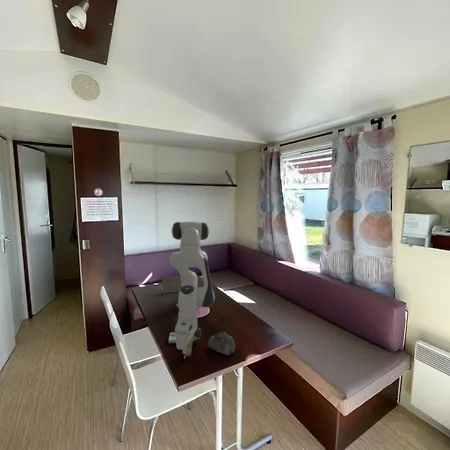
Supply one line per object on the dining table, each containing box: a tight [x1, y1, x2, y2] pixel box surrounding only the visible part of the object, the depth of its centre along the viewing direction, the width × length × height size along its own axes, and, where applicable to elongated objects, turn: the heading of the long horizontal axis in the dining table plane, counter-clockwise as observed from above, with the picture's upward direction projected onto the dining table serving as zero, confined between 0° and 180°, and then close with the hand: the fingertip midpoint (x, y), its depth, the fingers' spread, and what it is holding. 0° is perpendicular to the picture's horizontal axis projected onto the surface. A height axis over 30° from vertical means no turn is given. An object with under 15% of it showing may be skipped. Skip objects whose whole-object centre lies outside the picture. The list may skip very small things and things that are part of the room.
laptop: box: [160, 275, 181, 294], centre depth 211 cm, size 18×12×13 cm
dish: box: [168, 332, 177, 344], centre depth 138 cm, size 7×7×2 cm
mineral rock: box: [207, 331, 236, 356], centre depth 129 cm, size 13×11×10 cm
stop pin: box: [184, 338, 193, 357], centre depth 124 cm, size 3×3×9 cm
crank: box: [193, 327, 202, 342], centre depth 134 cm, size 10×4×6 cm, turn 124°
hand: (188, 347), depth 124 cm, fingers open, 7 cm apart
